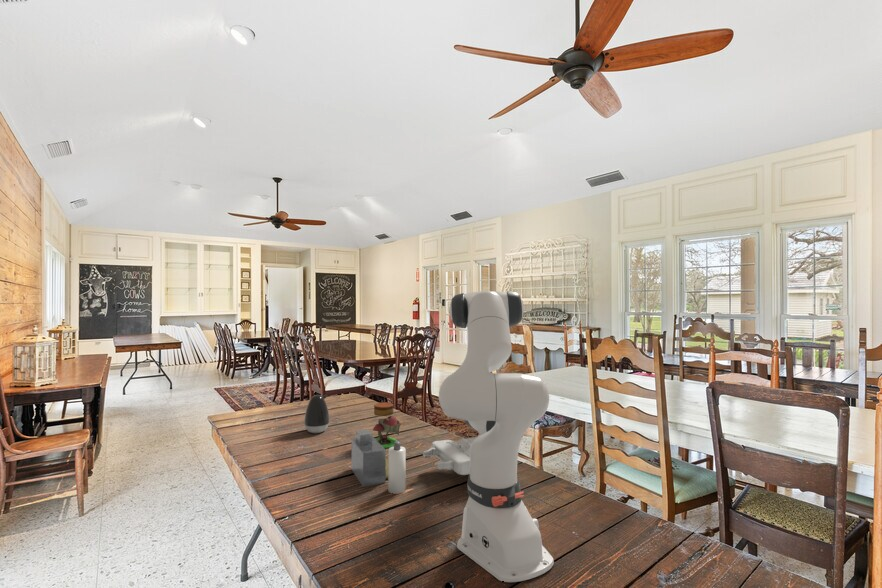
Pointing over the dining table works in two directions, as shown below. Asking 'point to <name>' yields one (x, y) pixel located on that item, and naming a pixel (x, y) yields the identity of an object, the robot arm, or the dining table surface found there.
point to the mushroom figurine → (386, 424)
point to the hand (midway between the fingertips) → (430, 460)
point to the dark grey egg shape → (317, 415)
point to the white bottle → (396, 468)
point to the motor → (368, 459)
